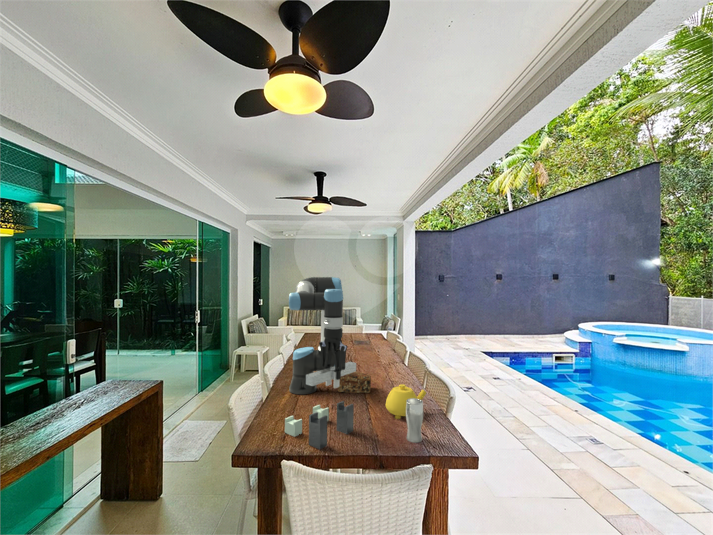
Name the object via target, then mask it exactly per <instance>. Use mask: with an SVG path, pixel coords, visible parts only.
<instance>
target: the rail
mask: <svg viewBox="0 0 713 535" xmlns="http://www.w3.org/2000/svg"><path fill="white" fill-rule="evenodd" d="M334 370H335V366H334V367H330V368H327V369H324V370H321V371H314V373H311V374H307V375H306V384H307V385H310V386H315V385H316V386H317V385H320V384H324V383H326V381H329V380H334ZM352 372H357V362H354V361H353V362H352V361H348V362H345V370H342V371H341V376H344V375H347V374H350V373H352Z"/></svg>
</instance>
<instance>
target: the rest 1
mask: <svg viewBox="0 0 713 535" xmlns="http://www.w3.org/2000/svg"><path fill="white" fill-rule="evenodd" d="M284 433H285V434H287V435H289V436H292V437H295V438H296V437H298V436H299V434H300V435H301V434H303V419H302V418H300V419H295V417H294V415H290V416H288V417H285V418H284Z"/></svg>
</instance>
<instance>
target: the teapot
mask: <svg viewBox="0 0 713 535" xmlns="http://www.w3.org/2000/svg"><path fill="white" fill-rule="evenodd" d="M427 393H428V392H427V391H426V390H425V389H423V388H422V389H421V391H420V392H419V393H418V395H416V392H415V391H414V390H413V389H412V388H411V387H410V386H407V385H406V384H399V385H398V386H394V387H392V389H391V390H390V392H389V393H388V395H387V397H386V401H385V408H386V410H387V411H388V412H389V413H390V414H392V415H394V419H395V420H400V419H401V418H402V417H406V400H407V399H411V398H415V399H420V400H422V401H423V399H424V398H425V396H427V395H426V394H427Z"/></svg>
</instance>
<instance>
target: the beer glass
mask: <svg viewBox="0 0 713 535" xmlns="http://www.w3.org/2000/svg"><path fill="white" fill-rule="evenodd" d="M405 419H406V426H407V432H406V440H407V441H408V442H411V443H413V444H414V443H416V444H417V443H421V442H422V441H423V438H422V436H423V435H422V426H423V421H424V420H423V419H424V401H423V399H422V400H420V399H415V398H411V399H407V400H406V416H405Z"/></svg>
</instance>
